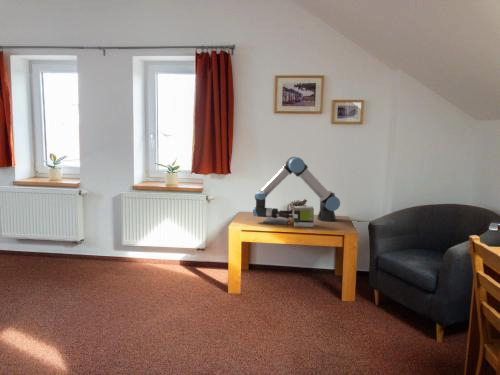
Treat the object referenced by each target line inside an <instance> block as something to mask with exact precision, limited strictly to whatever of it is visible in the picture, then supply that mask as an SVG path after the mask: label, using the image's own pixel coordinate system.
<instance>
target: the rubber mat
mask: <svg viewBox="0 0 500 375" xmlns="http://www.w3.org/2000/svg"><path fill="white" fill-rule="evenodd" d="M289 221H290V218H289V219H287V218H283V217H280V218H279V217H277V218H270V217H269V218H268V217H266V219H264V220H263V223H264V224H275V225H286V224H287V223H288V222H289Z"/></svg>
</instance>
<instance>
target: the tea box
mask: <svg viewBox="0 0 500 375" xmlns="http://www.w3.org/2000/svg"><path fill="white" fill-rule="evenodd" d="M293 208H294V209H293V211H294V214H296V215H298V218H293V226H294V227H300V228H301V227H302V228H314V224H315V223H314V215H315V213H314V212H315V211H314V210H315V209H314V206H313V205H312V206H310V205H309V206H303V205H302V206H301V205H299V206H298V205H297V206H296V205H295V206H293Z"/></svg>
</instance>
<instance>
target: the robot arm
mask: <svg viewBox="0 0 500 375" xmlns="http://www.w3.org/2000/svg"><path fill="white" fill-rule="evenodd" d="M292 174H294V175H295V176H296V177H297V178H300V179H301V180H302V181H303V182H304V183H305V185H307V186H308V188H310V189H311V191H312V192H314V193H315V195H316V196H317V197H318V198H319V212H318V213H317V216H316V217H317V220H318V221H323V222H333V221H336V220H337V218H336V214H335V211H337V210H338V209H339V208H340V207H341V201H340V198H339V197H337V196H336V194H335V192H332V191H331V190H328V189H327V188H326V187H325V186H324V185H323V184H322V183H321V182H320V181H319V180H318V178H316V177H315V176H314V175H313V173H312V172H311V171H310V170H309V166H308V165H307V164H306V163H305V162H304V160H303V159H302V158H301V157H298V156H292V157H290V158H288V159H287V161H286V162H285V163H284V164H283V165H281V168H280V170H279V171H278V172H276V174H275V175H274V176H272V178H271V179H270V180H269V181H268V182H267V183H266V184H265V185H264V186H263V187H262V188H261V189H260V190H259V191H258V192H256V193H255V194H254V200H255V206H254V207H253V209H252V216H254V217H257V218H269V217H270V218H279V217H280V218H283V219H289V220H290V219H294V218H298V215H296V214H294V210H293V209H291V210H279V209H278V208H273V207H266V199H267V197H268V196H269V195H270V194H271V193H272V192H273V191H274V190H275V189H276V188H277V187H278V186H279V185H280V184H281V183H282V182H283V181H284V180H285V179H286V178H287V177H288V176H289V175H292Z"/></svg>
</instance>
